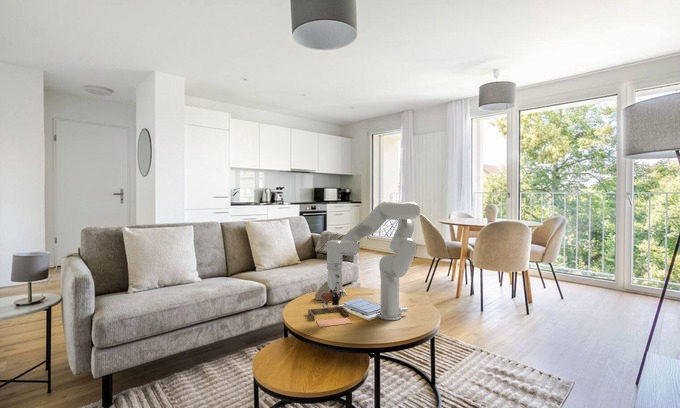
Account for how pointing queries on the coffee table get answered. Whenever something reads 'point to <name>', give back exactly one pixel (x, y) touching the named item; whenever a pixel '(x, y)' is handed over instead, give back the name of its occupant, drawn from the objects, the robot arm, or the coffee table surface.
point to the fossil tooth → (322, 291)
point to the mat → (333, 322)
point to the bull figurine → (328, 297)
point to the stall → (327, 311)
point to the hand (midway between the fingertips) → (333, 302)
